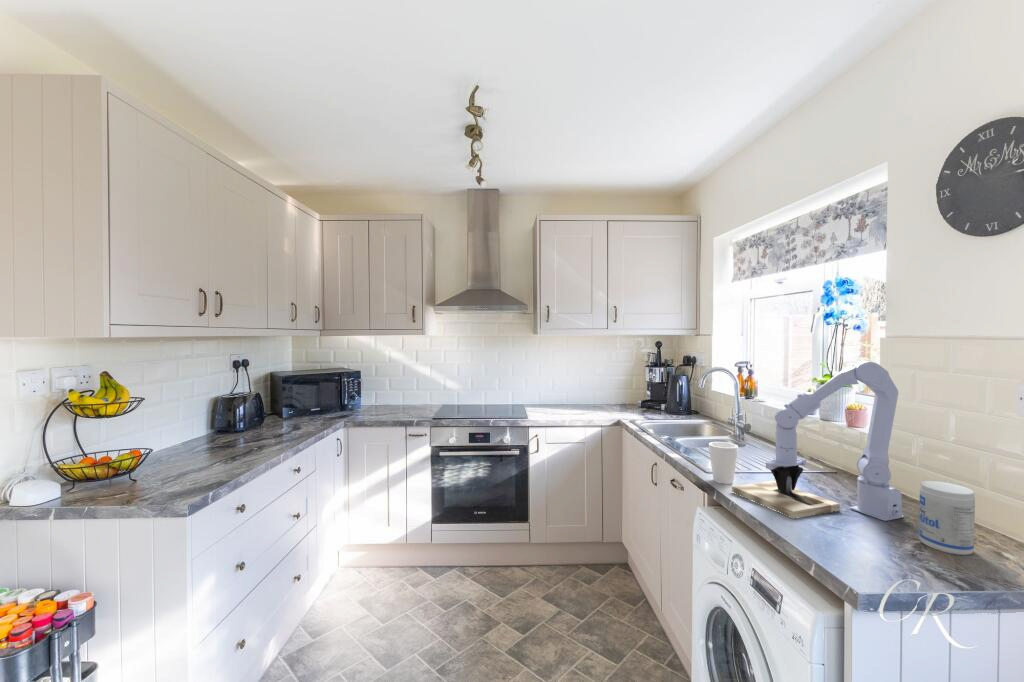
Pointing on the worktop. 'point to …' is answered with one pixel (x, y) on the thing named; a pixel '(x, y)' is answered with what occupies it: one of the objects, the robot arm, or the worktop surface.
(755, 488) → the keyhole board
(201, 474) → the worktop surface
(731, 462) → the foam cup
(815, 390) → the robot arm
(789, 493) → the peg
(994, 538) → the worktop surface
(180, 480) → the worktop surface
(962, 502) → the supplement tub
